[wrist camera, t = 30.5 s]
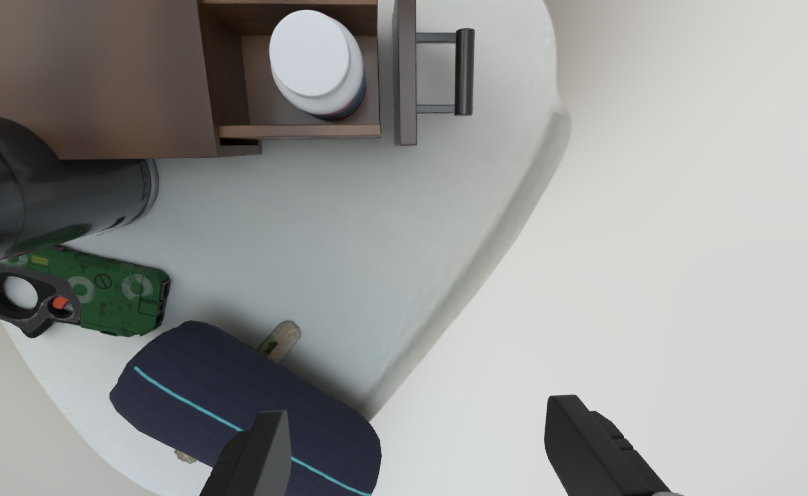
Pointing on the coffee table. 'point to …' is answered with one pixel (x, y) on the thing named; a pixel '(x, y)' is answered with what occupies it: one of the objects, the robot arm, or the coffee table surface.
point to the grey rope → (269, 356)
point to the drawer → (358, 11)
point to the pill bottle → (317, 65)
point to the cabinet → (112, 79)
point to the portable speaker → (244, 409)
